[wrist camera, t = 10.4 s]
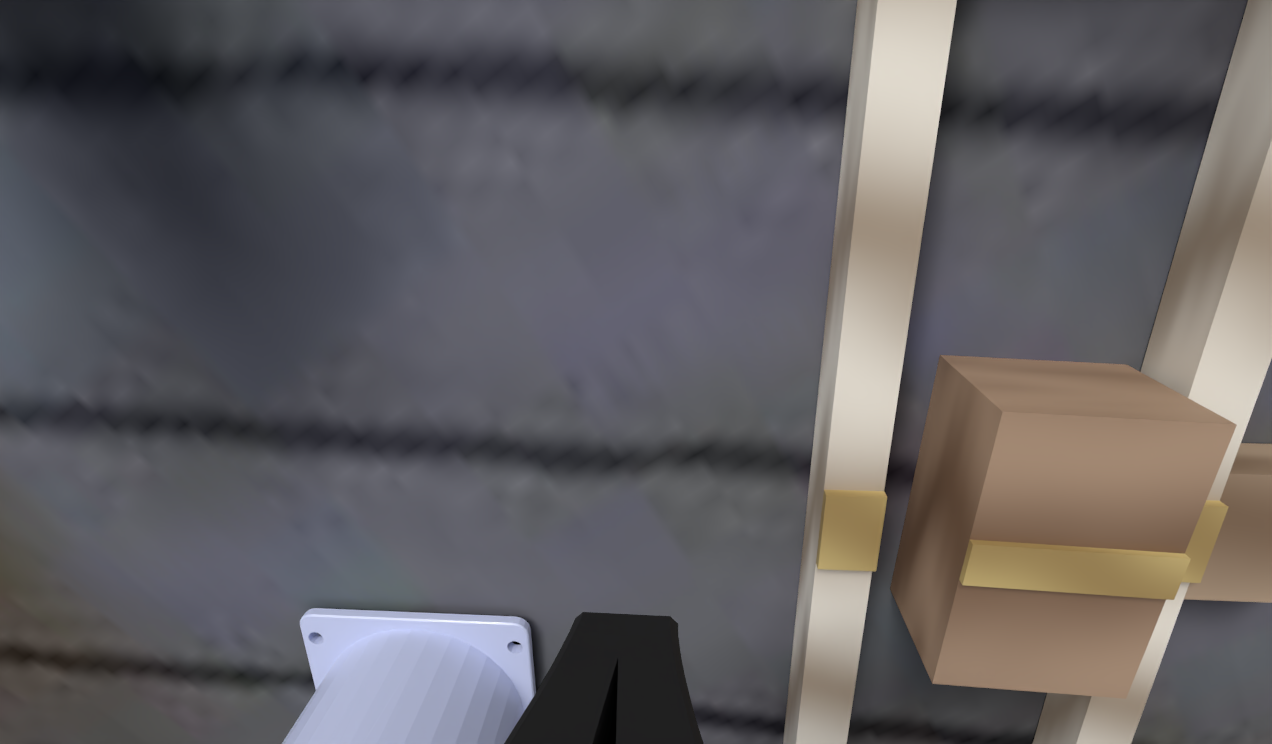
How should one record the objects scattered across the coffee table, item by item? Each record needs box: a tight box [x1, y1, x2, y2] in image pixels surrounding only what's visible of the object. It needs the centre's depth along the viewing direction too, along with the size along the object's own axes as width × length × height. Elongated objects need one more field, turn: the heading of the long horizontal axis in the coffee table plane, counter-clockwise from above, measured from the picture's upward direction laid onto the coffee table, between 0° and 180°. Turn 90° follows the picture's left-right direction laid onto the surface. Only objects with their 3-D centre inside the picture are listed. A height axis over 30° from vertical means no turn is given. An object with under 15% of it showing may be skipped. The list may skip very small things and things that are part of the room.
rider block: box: [890, 355, 1237, 699], centre depth 18 cm, size 8×5×4 cm, turn 178°
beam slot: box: [783, 0, 1272, 744], centre depth 18 cm, size 32×13×2 cm, turn 0°
